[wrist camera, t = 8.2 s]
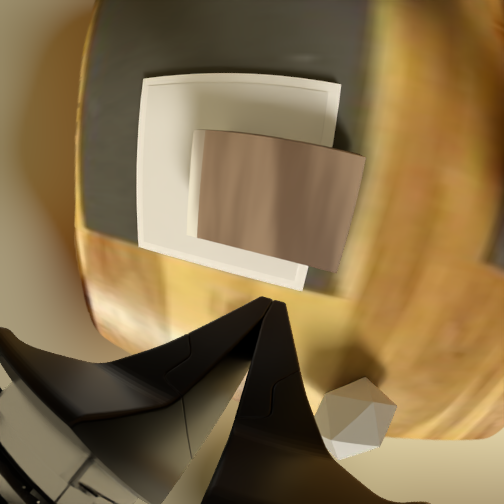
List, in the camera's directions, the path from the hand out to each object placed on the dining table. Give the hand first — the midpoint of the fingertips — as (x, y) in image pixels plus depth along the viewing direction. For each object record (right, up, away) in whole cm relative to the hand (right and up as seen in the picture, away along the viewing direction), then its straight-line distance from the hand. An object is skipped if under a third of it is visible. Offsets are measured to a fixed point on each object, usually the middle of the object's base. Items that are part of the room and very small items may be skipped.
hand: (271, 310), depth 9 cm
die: (+11, -14, +17) cm, 24 cm away
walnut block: (+5, +5, +7) cm, 10 cm away
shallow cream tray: (-3, +8, +12) cm, 15 cm away
